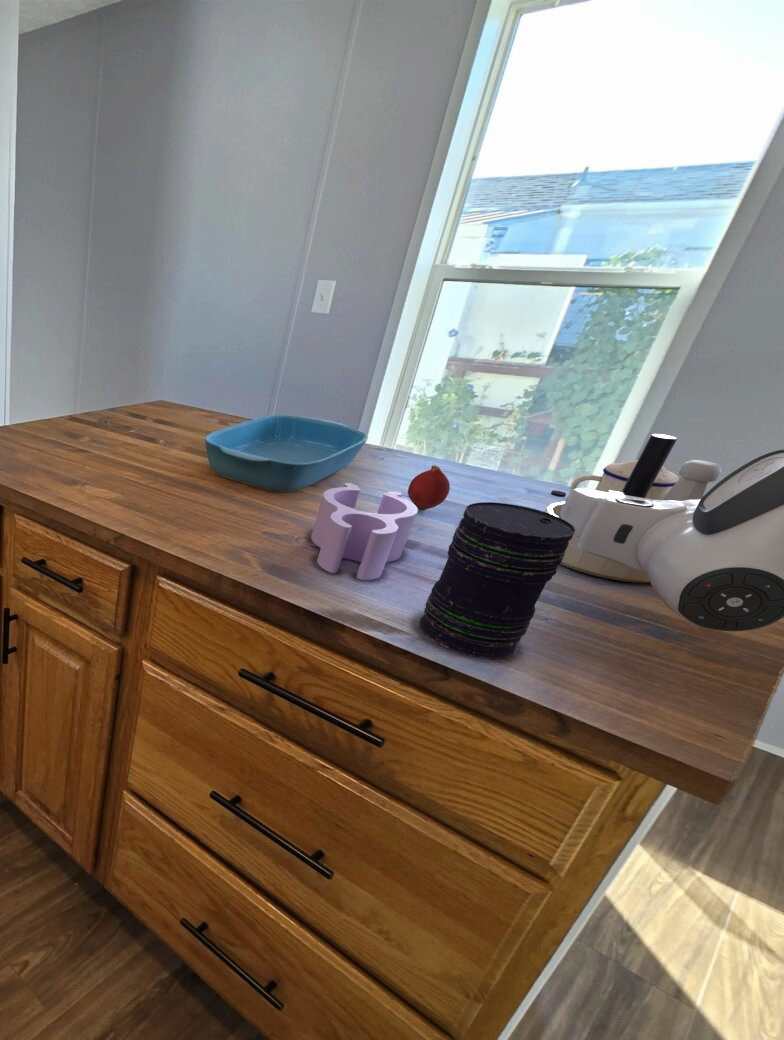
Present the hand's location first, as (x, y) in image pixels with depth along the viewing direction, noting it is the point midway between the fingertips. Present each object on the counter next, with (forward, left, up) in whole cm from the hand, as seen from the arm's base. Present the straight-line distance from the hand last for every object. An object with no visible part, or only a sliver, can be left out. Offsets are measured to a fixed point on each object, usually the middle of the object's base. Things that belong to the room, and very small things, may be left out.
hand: (660, 504), depth 82 cm
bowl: (0, -11, -12) cm, 17 cm away
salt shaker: (-9, -24, -13) cm, 29 cm away
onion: (+23, -19, -13) cm, 33 cm away
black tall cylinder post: (0, -11, -12) cm, 16 cm away
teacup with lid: (-3, -30, -13) cm, 33 cm away
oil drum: (+17, +25, -13) cm, 33 cm away
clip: (+31, +6, -13) cm, 34 cm away
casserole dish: (+48, -28, -13) cm, 57 cm away
